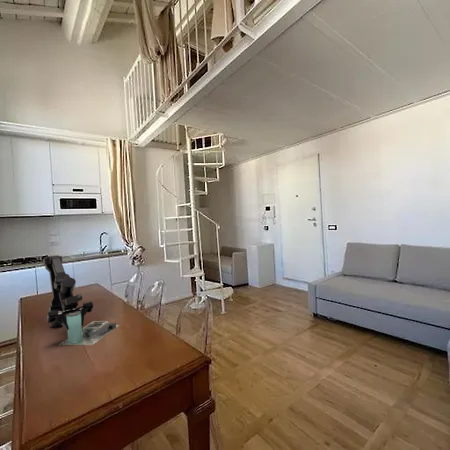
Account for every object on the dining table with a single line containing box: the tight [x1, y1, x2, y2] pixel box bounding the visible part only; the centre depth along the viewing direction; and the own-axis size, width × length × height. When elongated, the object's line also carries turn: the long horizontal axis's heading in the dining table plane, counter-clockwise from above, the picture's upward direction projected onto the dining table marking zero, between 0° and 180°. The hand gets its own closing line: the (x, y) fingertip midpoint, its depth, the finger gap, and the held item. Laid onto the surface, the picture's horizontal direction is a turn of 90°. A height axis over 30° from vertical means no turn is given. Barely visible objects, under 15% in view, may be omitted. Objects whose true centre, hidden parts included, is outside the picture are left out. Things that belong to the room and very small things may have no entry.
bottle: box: [66, 311, 83, 344], centre depth 121 cm, size 6×6×13 cm
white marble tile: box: [58, 320, 120, 346], centre depth 127 cm, size 17×22×5 cm
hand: (75, 327), depth 120 cm, fingers closed on bottle, 6 cm apart
